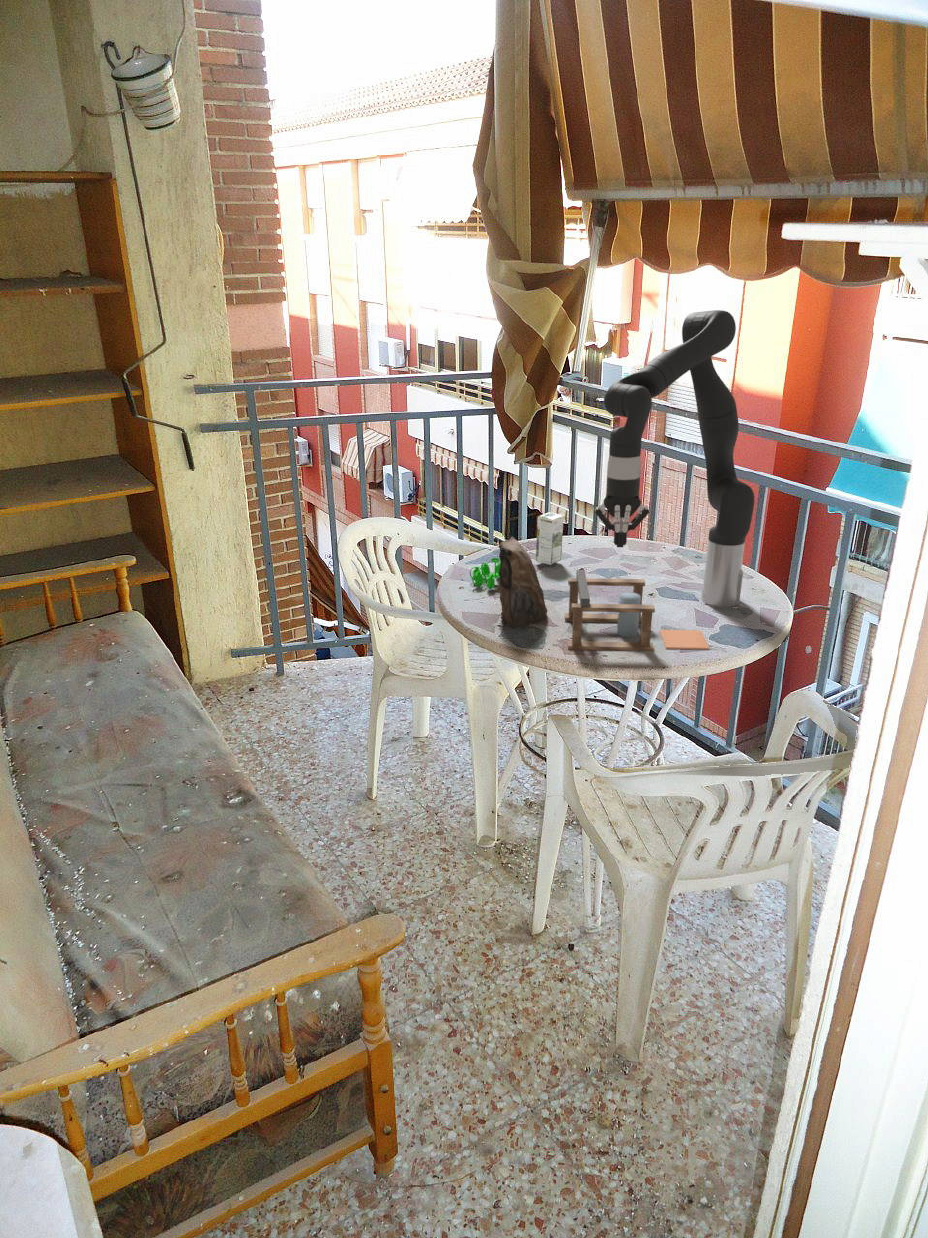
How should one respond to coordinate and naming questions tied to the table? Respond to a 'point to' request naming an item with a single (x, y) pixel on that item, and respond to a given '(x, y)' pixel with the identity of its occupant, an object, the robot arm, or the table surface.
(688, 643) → the terracotta tile
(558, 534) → the syrup box
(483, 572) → the chandelier
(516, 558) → the brown pointed rock
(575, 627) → the gantry
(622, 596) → the grey-blue cylinder
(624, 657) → the table surface
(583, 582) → the bar
